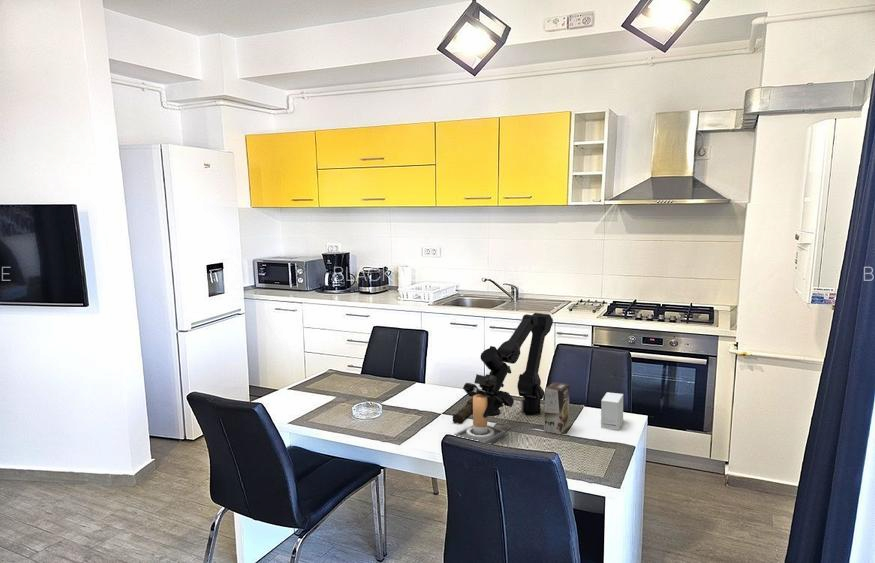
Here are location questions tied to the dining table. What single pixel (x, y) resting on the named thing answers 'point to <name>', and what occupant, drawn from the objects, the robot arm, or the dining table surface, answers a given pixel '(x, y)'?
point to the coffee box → (556, 408)
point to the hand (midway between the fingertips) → (477, 415)
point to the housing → (490, 437)
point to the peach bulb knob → (479, 414)
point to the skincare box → (612, 411)
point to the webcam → (495, 410)
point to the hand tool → (462, 413)
